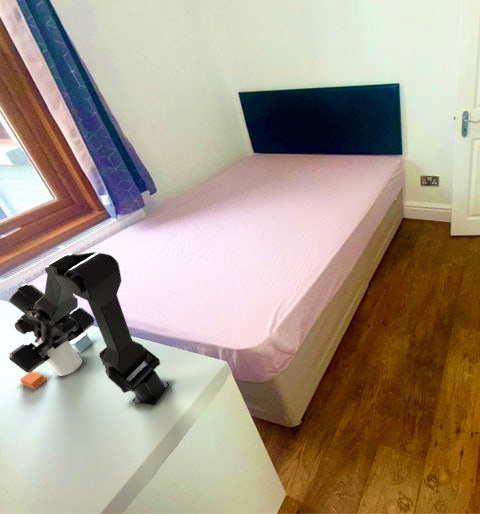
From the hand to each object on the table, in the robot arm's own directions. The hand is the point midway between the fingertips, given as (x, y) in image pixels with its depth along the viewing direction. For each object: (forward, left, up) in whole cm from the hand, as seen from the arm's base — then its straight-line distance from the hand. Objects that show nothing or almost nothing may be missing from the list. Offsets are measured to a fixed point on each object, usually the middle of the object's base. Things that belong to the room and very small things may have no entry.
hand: (54, 350), depth 98 cm
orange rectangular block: (+5, +6, -7) cm, 10 cm away
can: (-1, 0, -7) cm, 7 cm away
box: (+4, -8, -7) cm, 11 cm away
